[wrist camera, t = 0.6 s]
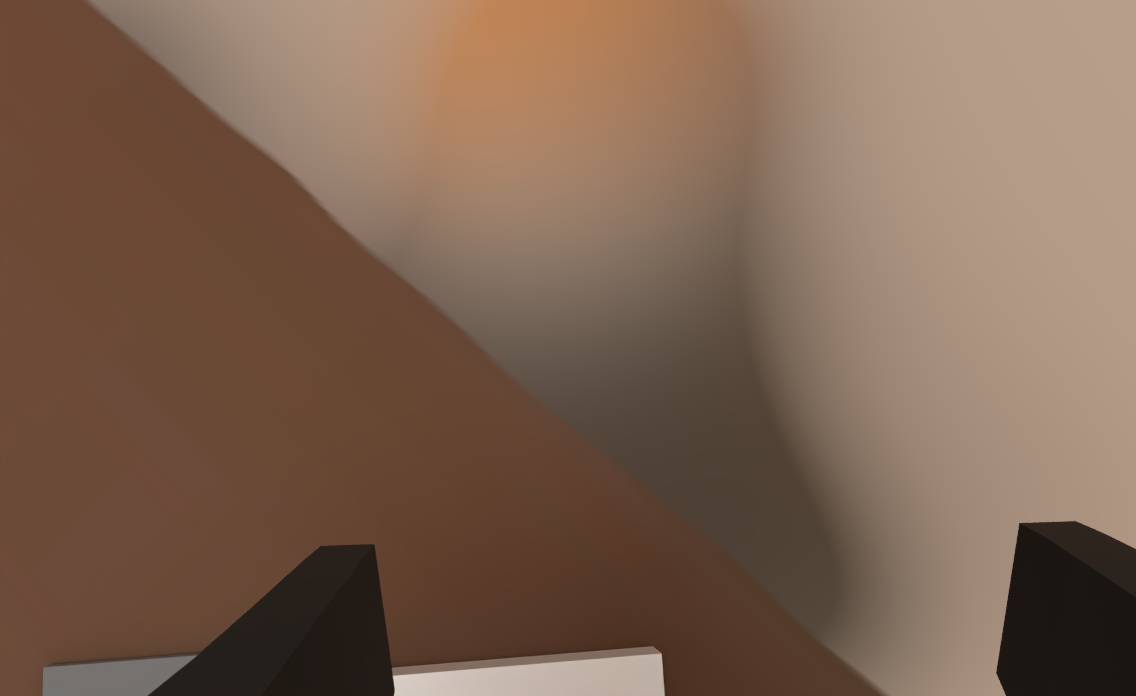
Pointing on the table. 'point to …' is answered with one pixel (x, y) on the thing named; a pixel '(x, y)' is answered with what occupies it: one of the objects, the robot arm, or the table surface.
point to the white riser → (540, 675)
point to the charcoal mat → (112, 676)
